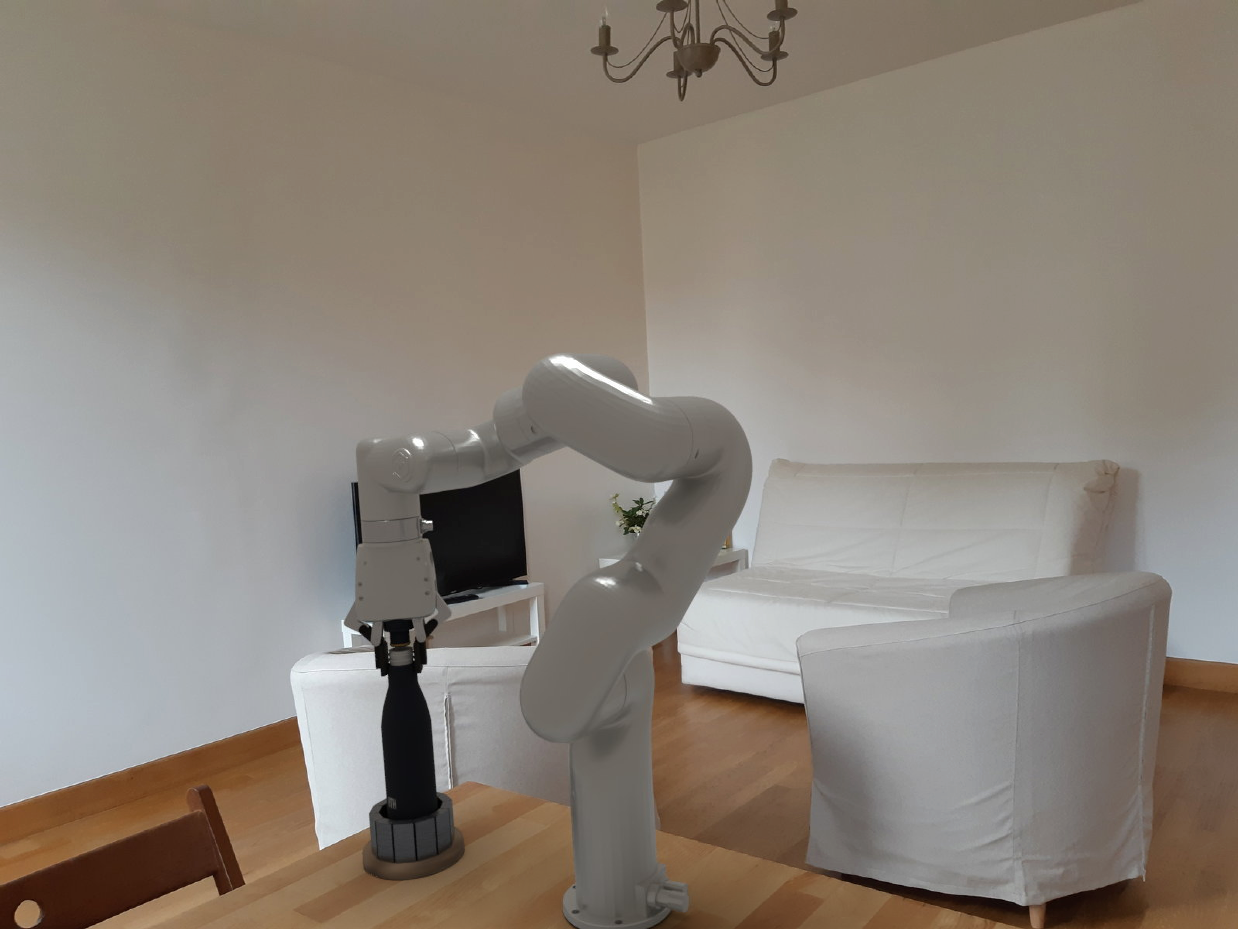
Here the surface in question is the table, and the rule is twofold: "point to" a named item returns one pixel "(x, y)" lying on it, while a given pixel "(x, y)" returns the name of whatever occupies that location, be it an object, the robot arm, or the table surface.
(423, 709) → the black tall rounded piece
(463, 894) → the table surface
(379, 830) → the bottle stand
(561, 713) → the robot arm
